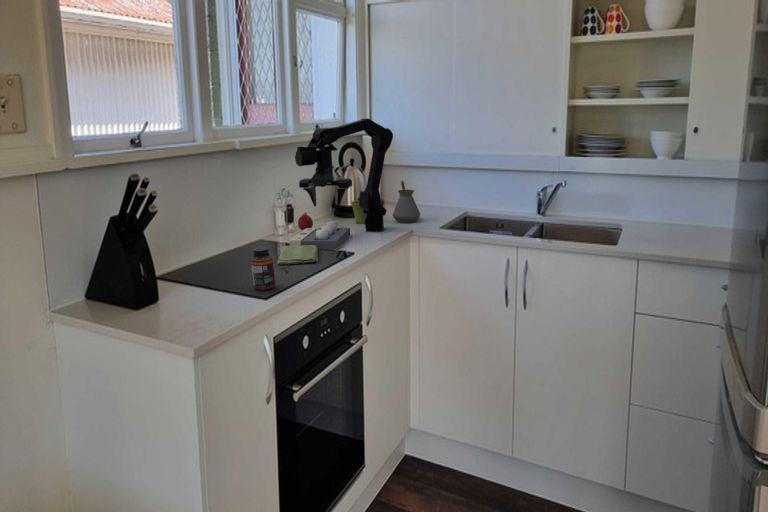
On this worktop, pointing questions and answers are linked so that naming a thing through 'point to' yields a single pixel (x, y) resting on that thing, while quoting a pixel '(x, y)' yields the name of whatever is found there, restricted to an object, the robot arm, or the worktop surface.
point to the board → (332, 240)
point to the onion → (305, 221)
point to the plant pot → (358, 213)
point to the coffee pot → (406, 207)
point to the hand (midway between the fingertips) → (326, 206)
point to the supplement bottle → (262, 269)
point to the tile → (301, 237)
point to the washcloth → (298, 254)
